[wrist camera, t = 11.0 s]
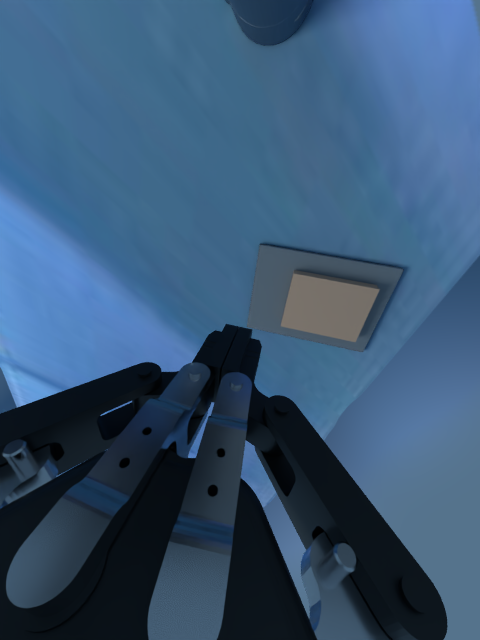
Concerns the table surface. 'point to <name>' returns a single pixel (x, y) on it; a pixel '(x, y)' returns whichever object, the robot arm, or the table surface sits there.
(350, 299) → the tile
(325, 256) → the mat
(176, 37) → the table surface
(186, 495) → the robot arm
